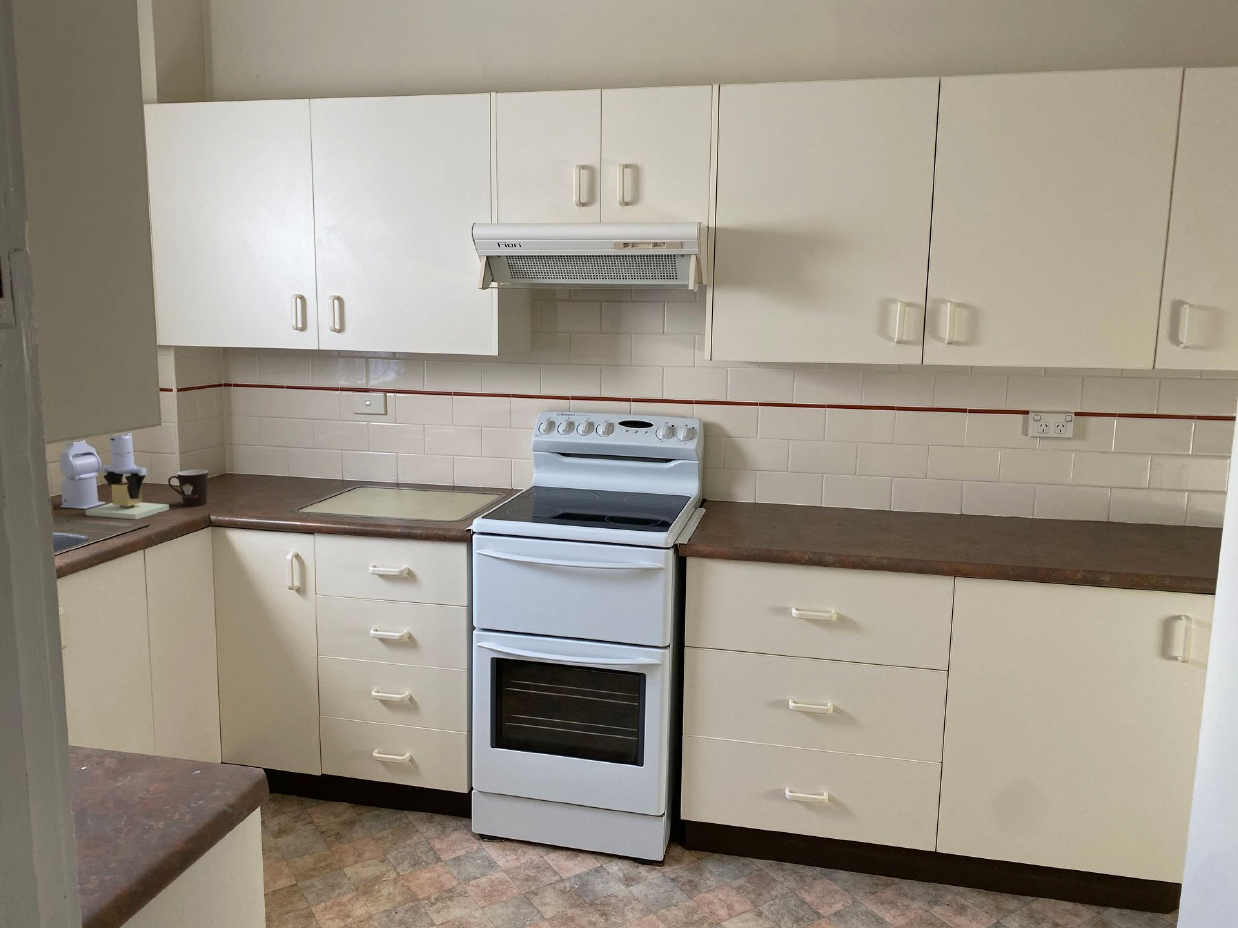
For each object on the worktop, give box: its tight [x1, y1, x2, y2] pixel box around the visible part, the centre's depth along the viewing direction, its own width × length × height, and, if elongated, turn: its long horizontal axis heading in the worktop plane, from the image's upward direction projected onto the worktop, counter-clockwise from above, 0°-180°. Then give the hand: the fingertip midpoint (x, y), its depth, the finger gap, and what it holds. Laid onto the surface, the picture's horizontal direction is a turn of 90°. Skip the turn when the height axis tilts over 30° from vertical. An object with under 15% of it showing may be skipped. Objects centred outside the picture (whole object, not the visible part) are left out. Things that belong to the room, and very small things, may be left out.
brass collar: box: [110, 480, 144, 506], centre depth 279 cm, size 6×6×6 cm
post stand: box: [84, 502, 170, 520], centre depth 279 cm, size 18×13×6 cm
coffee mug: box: [167, 469, 209, 508], centre depth 290 cm, size 12×9×10 cm
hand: (126, 497), depth 279 cm, fingers closed on brass collar, 6 cm apart
